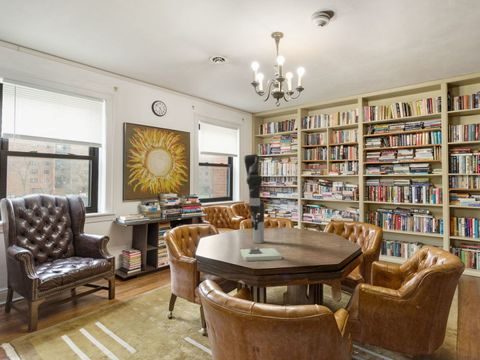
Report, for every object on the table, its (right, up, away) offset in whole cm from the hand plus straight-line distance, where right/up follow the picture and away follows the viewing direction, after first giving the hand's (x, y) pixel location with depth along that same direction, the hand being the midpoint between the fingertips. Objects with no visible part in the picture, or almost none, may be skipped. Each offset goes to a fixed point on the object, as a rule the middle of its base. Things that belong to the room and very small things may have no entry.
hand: (254, 228), depth 189 cm
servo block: (0, -19, 0) cm, 19 cm away
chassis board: (+4, -19, +1) cm, 19 cm away
